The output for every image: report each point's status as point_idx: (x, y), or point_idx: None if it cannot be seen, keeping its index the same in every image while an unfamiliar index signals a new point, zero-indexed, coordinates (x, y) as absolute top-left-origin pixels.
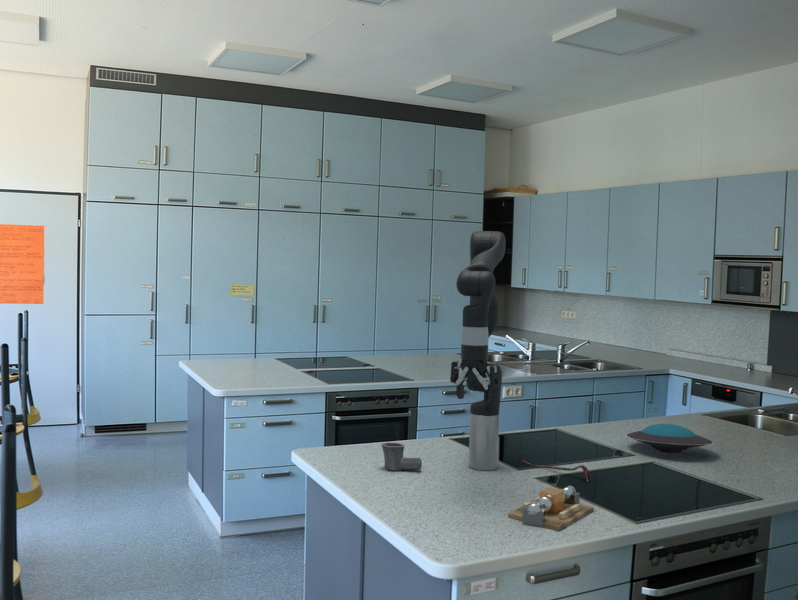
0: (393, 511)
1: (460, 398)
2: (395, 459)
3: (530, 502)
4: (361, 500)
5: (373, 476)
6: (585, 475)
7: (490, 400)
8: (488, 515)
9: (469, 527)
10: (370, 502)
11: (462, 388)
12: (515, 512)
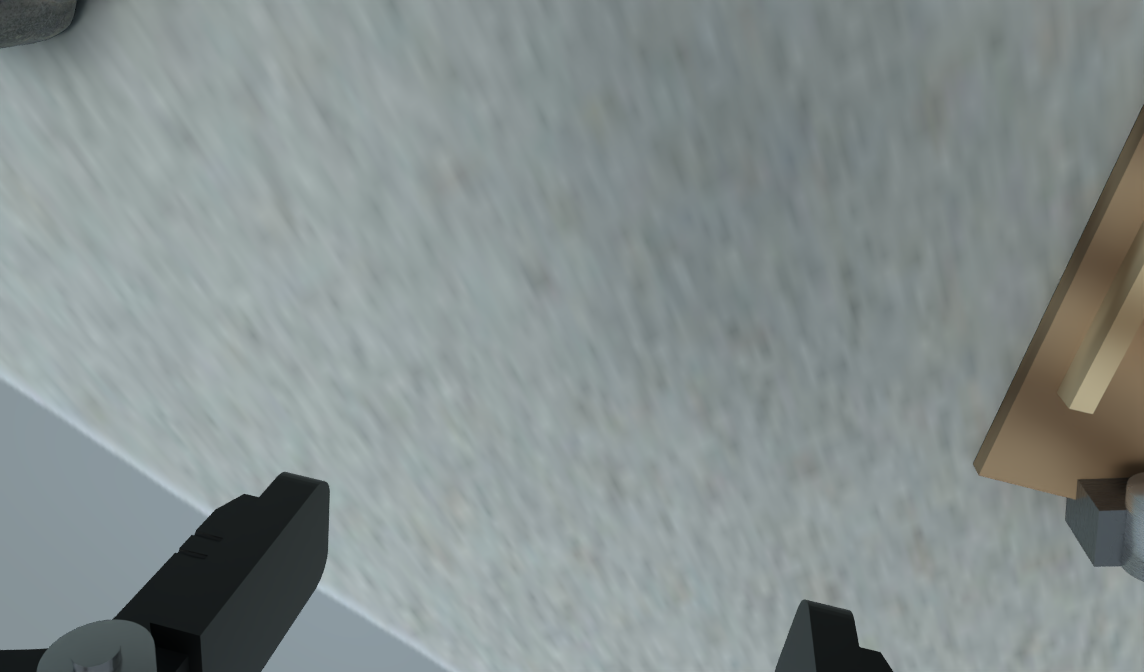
0: (461, 595)
1: (323, 558)
2: (14, 35)
3: (1112, 365)
4: None
5: (64, 193)
6: None
7: (878, 663)
8: (867, 479)
9: None
10: None
11: (237, 635)
12: (1017, 450)
